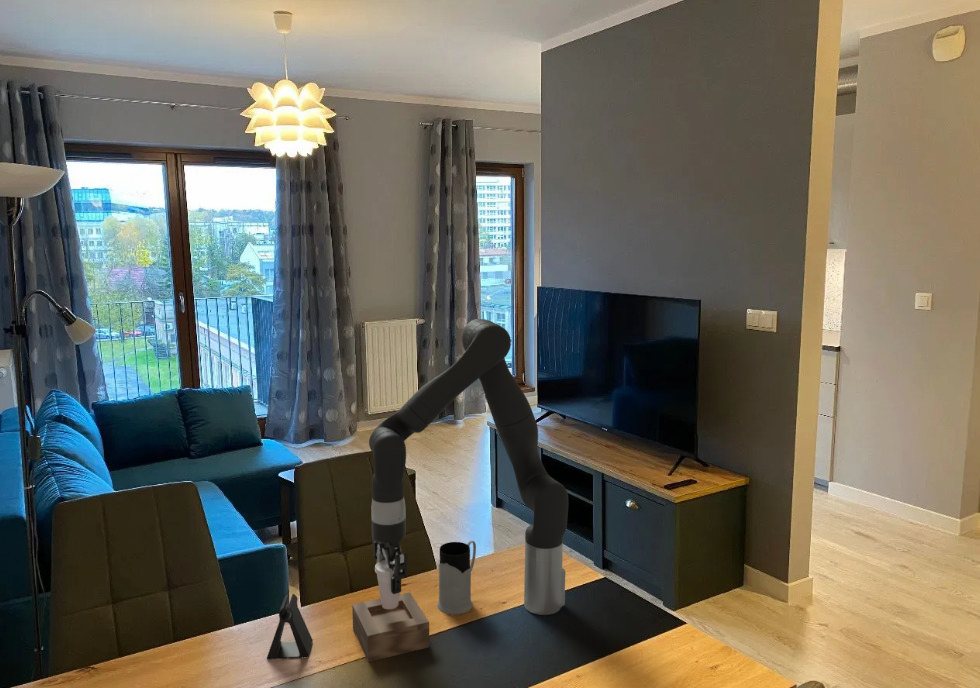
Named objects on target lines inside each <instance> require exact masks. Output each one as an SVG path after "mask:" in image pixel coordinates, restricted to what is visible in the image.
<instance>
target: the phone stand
mask: <svg viewBox="0 0 980 688" xmlns="http://www.w3.org/2000/svg"><path fill="white" fill-rule="evenodd" d="M289 596H290V595H289V593H288V594H285V596H284V597H283V601H282V604H281V606H280V609H279V611H278V618H279V622H278V625H277V628H276V630H275V633H274V636H273V639H272V642H271V643H270V644H271V645H270V647H269V651H268V654H267V656H266V659H267V660H286V659H289V658H290V659H305V658H304V657H308V658H309V656H310V653H311V649H312V646H313V641H314V640H313V638H312V636H311V633H310V631H309V628H308V626H307V624H306V621H305V620H304V617H303V615H302V613H301V611H300V608H299V606H298V600H299V599H298V596H297V595H296V594H294V593H292V594H291V596H290V597H291V598H290V601H289V603H288V604H287V602H288V599H289ZM285 624H289V627H290V629H291V632H292V636H293V638H294V640H291V641H281V640H282V636H283V633H284V628H285ZM302 657H303V658H302Z"/></svg>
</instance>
